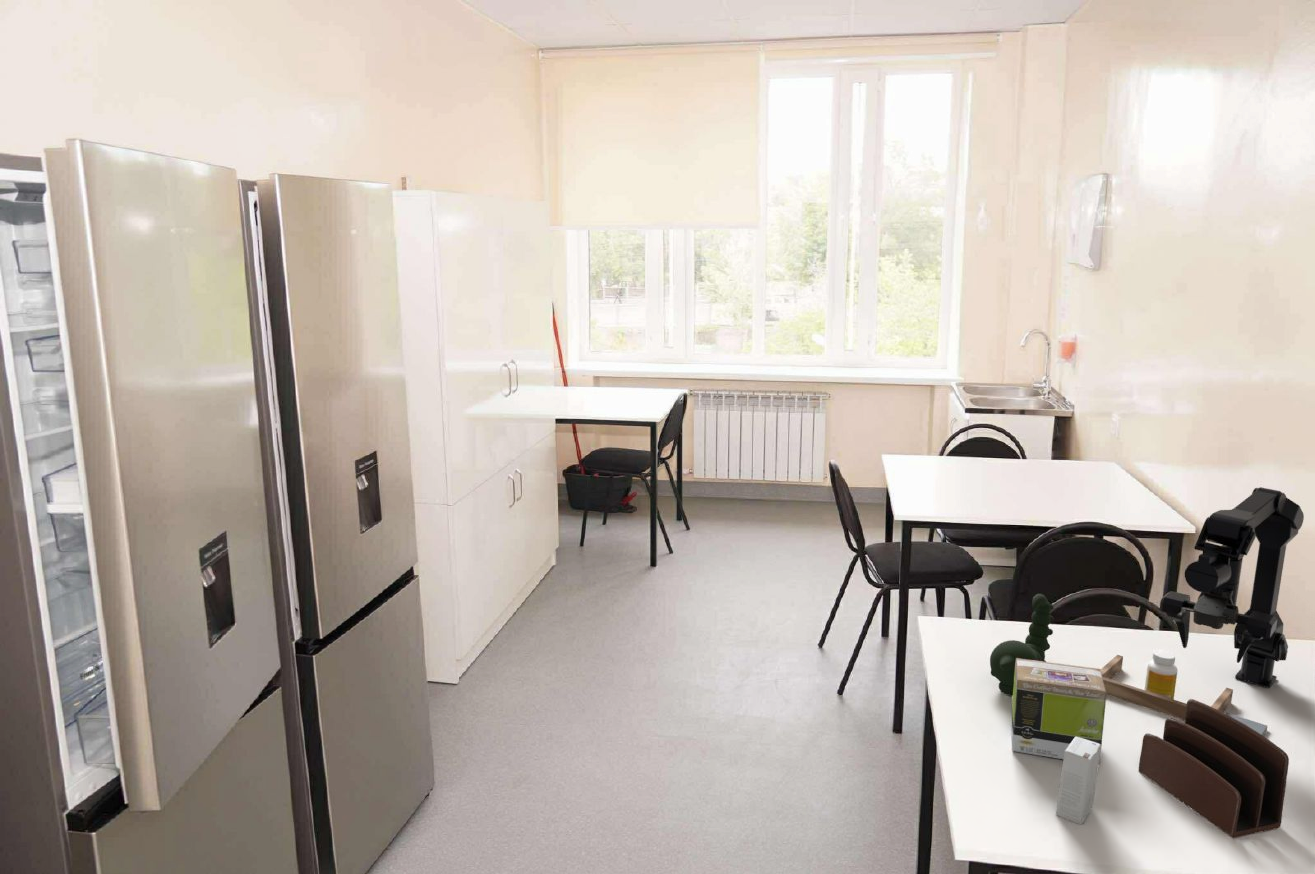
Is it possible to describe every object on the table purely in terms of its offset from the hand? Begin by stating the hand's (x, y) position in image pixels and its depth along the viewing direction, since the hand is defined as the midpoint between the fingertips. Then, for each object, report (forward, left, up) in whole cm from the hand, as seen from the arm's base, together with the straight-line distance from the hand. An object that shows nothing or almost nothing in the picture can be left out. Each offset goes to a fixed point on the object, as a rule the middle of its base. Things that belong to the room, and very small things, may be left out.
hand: (1211, 654), depth 180 cm
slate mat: (+1, +7, -14) cm, 15 cm away
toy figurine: (+11, -32, -14) cm, 36 cm away
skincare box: (+49, -6, -14) cm, 51 cm away
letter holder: (+29, +8, -14) cm, 33 cm away
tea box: (+31, -17, -14) cm, 38 cm away
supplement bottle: (-3, -9, -14) cm, 17 cm away
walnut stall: (-3, -9, -14) cm, 17 cm away
